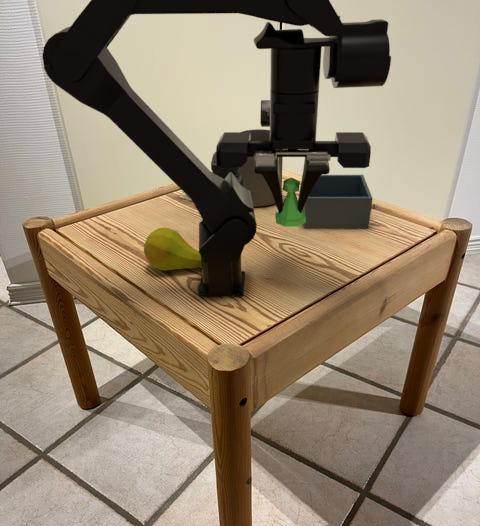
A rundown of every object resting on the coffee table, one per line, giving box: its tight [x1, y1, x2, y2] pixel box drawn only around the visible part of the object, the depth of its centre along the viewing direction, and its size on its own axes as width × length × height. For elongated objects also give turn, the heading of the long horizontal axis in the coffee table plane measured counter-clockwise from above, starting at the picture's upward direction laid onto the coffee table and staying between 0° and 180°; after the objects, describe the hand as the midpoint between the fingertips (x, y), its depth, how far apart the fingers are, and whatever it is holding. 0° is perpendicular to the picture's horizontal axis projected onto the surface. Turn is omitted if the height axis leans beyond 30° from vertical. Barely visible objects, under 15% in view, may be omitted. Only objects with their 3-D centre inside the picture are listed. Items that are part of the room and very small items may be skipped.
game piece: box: [275, 177, 306, 228], centre depth 68 cm, size 4×4×6 cm
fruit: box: [143, 226, 202, 271], centre depth 79 cm, size 6×6×12 cm
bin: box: [302, 174, 373, 229], centre depth 93 cm, size 11×11×6 cm
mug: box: [211, 128, 284, 207], centre depth 97 cm, size 14×9×12 cm
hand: (290, 213), depth 69 cm, fingers closed on game piece, 2 cm apart
